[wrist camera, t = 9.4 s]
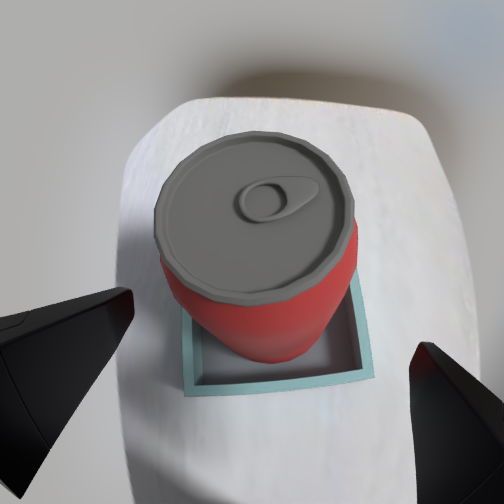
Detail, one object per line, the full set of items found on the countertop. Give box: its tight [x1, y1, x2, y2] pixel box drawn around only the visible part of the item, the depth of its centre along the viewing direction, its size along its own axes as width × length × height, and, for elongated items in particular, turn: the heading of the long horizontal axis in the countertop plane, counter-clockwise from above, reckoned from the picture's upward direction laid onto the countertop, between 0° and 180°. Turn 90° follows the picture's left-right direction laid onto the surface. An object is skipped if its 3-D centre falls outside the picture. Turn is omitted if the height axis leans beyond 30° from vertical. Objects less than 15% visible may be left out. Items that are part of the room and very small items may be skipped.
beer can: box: [154, 131, 358, 364], centre depth 14 cm, size 7×7×12 cm
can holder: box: [181, 267, 375, 397], centre depth 19 cm, size 10×10×3 cm
